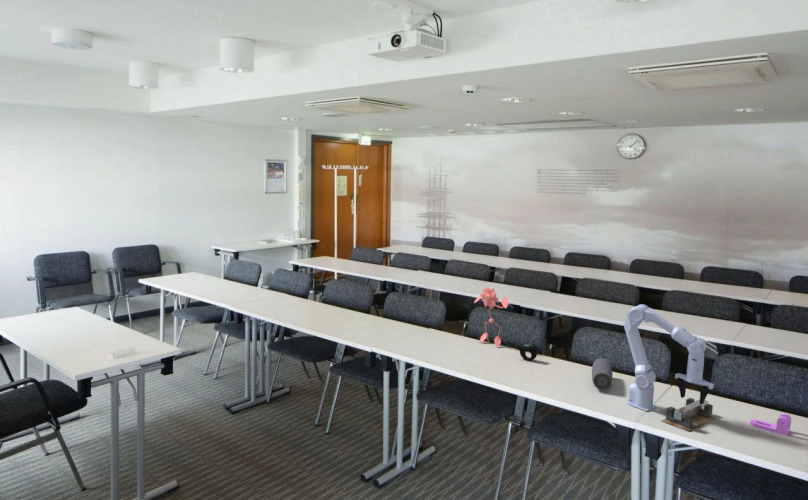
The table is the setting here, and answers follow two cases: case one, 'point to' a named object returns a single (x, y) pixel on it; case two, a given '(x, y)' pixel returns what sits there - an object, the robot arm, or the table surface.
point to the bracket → (780, 428)
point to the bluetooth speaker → (602, 374)
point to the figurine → (490, 300)
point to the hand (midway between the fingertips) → (692, 400)
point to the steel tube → (689, 409)
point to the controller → (524, 348)
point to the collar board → (696, 420)
